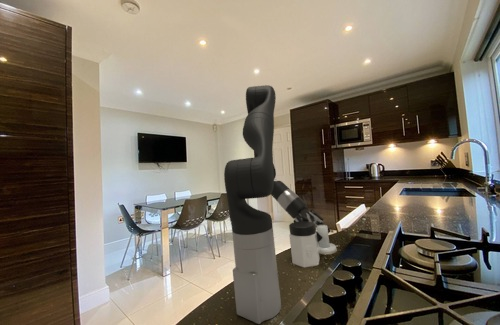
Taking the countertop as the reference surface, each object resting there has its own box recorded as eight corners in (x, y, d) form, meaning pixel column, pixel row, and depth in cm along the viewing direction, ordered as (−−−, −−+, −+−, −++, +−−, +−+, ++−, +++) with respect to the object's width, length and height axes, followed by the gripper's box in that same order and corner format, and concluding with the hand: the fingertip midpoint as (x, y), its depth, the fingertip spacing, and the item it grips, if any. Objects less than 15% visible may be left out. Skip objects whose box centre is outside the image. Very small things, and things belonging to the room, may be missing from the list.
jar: (297, 270, 61) (292, 229, 62) (288, 259, 69) (284, 223, 70) (325, 265, 62) (321, 225, 63) (314, 255, 70) (309, 219, 71)
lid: (332, 255, 68) (329, 230, 68) (310, 251, 72) (307, 228, 73) (339, 247, 74) (336, 224, 74) (318, 244, 78) (315, 222, 79)
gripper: (288, 199, 73) (324, 235, 66) (304, 193, 85) (337, 223, 77) (277, 213, 76) (310, 250, 69) (294, 206, 88) (325, 236, 80)
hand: (325, 236), depth 73 cm, fingers open, 8 cm apart
